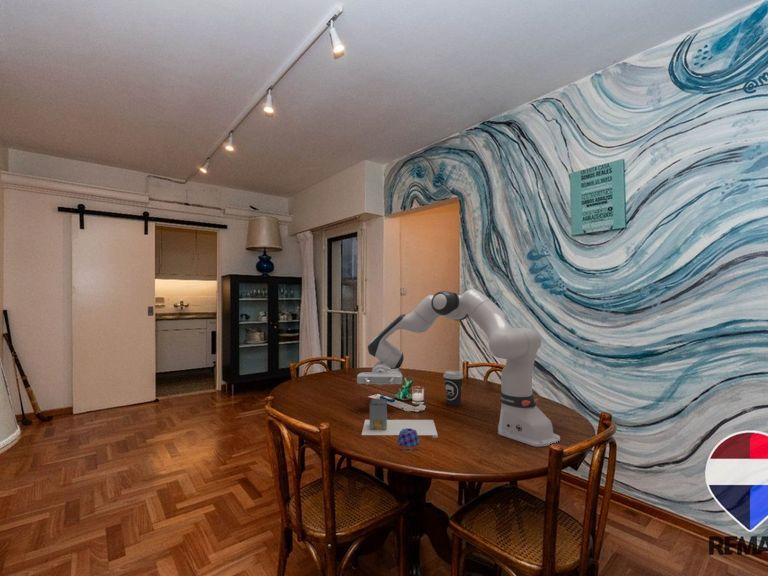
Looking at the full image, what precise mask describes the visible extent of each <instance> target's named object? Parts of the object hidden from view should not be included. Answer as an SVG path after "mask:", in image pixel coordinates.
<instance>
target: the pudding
mask: <svg viewBox="0 0 768 576" xmlns="http://www.w3.org/2000/svg"><path fill="white" fill-rule="evenodd" d="M397 444H398V445H399V446H401V447H405V448H410V449H400V448H398V449H397V450H398V451H402V452H417V451H421V450H422V449H414V448H413V449H411V447H416V446H417V445H420V440H419V435H417V432H416V430H413V429H409V428H406V429H402V430H401V431H400V433H399V435H398V438H397Z"/></svg>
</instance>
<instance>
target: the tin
mask: <svg viewBox="0 0 768 576" xmlns="http://www.w3.org/2000/svg"><path fill="white" fill-rule="evenodd" d="M387 407H388V399H387V398H370V401H369V420H370V430H374V420H383V430H387V420H388V408H387Z"/></svg>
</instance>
